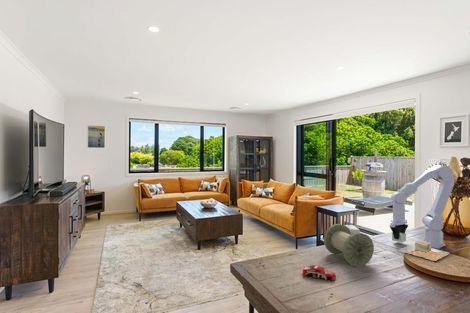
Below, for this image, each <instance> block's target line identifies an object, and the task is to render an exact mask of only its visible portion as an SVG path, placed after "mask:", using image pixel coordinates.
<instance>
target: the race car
mask: <svg viewBox="0 0 470 313" xmlns="http://www.w3.org/2000/svg"><path fill="white" fill-rule="evenodd" d="M302 275H303V276H305V277H307V278H310V277H311V278H313V279H319V278H320V279H319V280H327V281H328V280H330V282H331V281H334V280H336V277H337V276H336V273H335V272H334V271H333V270H330V269H326V268H324V267H323V266H320V265H311V264H310V265H306V266H303V269H302Z"/></svg>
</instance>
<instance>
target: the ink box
mask: <svg viewBox="0 0 470 313" xmlns="http://www.w3.org/2000/svg"><path fill="white" fill-rule="evenodd" d="M344 226H346V227H347V228H348V229H349V230H350V233H351V235H352V234H353V233H358V232H361V230H360V229H359V227H357V226H355V225H354V224H345V225H344Z"/></svg>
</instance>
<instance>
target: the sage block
mask: <svg viewBox="0 0 470 313" xmlns="http://www.w3.org/2000/svg"><path fill="white" fill-rule="evenodd" d="M391 241H394V242H398V243H402V244H403V243H404V242H407V233H406V232H405V233H400V236H399V239H394V236H393V232H392V233H391Z"/></svg>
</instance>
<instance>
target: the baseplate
mask: <svg viewBox="0 0 470 313" xmlns="http://www.w3.org/2000/svg"><path fill="white" fill-rule="evenodd" d="M411 251H416V250H415V243H411V244H409V245H407V246H404V247H402V248H399V249H398V252H399V253H402V254H405V253H407V252H411ZM431 251H433V252H441V253H447V254H449V255H450V251H449V252H448V251H444V250H440V249H437V248H433V247H431Z"/></svg>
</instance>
